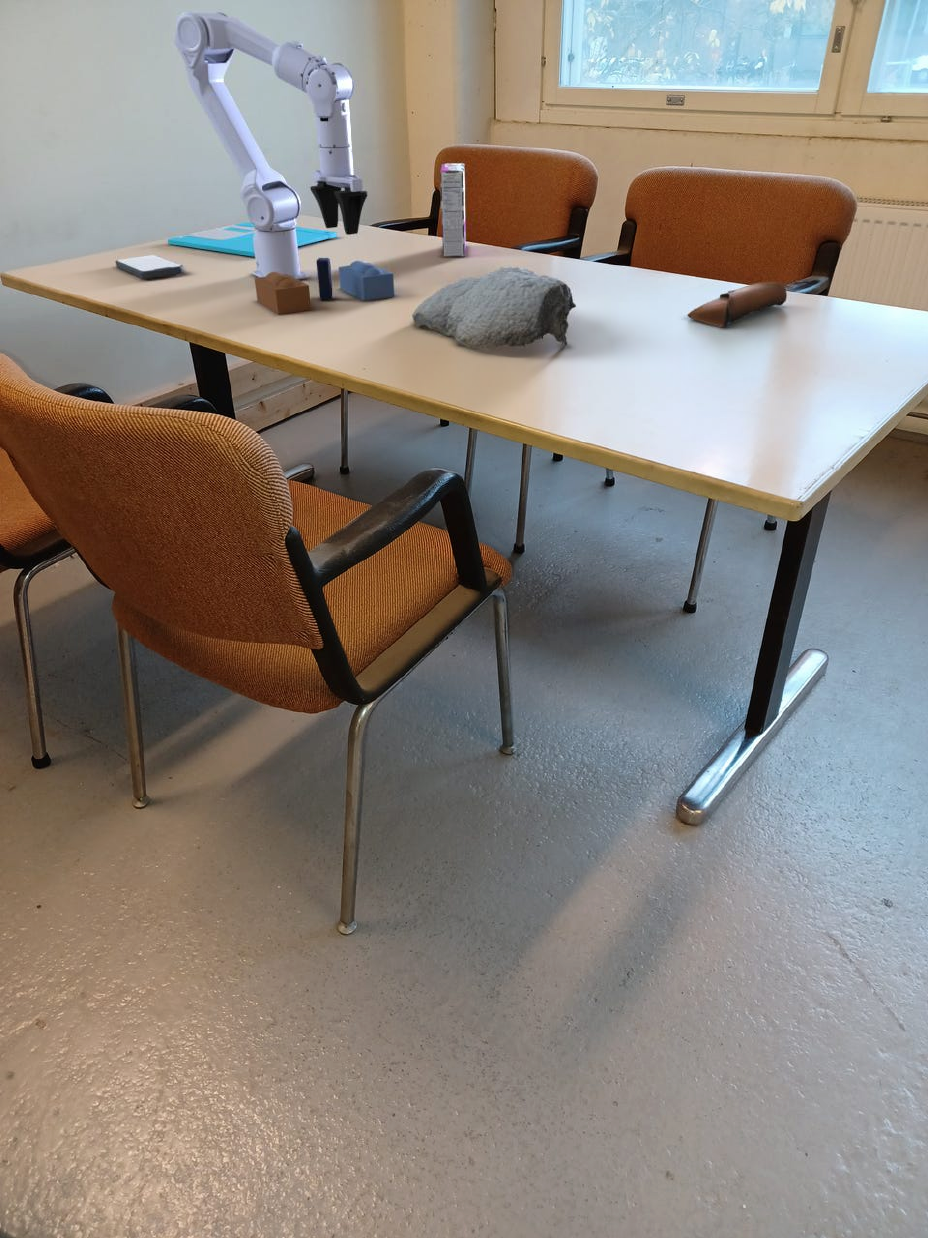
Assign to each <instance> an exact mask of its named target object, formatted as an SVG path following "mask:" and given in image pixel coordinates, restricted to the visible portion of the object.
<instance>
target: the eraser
mask: <svg viewBox="0 0 928 1238" xmlns="http://www.w3.org/2000/svg"><path fill="white" fill-rule="evenodd" d="M315 262H316V271H317V283H318V295H319V300H320V301H322V302H323V301H324V302H325V301H327V302H330V301H331V300H332V299H333V296H334V295H333V281H332V265H331V259H330V258H329V257H318V258H317V259H316V261H315Z"/></svg>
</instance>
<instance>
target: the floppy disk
mask: <svg viewBox="0 0 928 1238" xmlns="http://www.w3.org/2000/svg"><path fill="white" fill-rule="evenodd" d="M295 228H296V238H297V247H301V246H304V245H309V244H312V243H317V242H319V241H323V240H327V239H333V238H337V237H338V232H337V231H331V230H325V229H324V230H323V229H315V228H307V227H300V226H295ZM255 231H256V230H255V227H254V225H253V224H252V223H251V222H250V221H249V222H239V223H235V224H230V225H225V226H221V227H216V228H211V229H207V230H203V231H198V232H194V233H189V234H186V235H183V236H181V237H180V236H175V237H171V238H167V243H168V244H169V245H175V246H182V247H189V248H195V249H200V250H201V249H202V250H206V251H207V250H208V251H215V252H221V253H227V254H235V255H241V256H247V257H253V258H255V251H254V244H253V237H254V234H255Z"/></svg>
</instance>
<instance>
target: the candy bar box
mask: <svg viewBox="0 0 928 1238" xmlns="http://www.w3.org/2000/svg"><path fill="white" fill-rule="evenodd" d="M439 176H440V206H441V207H440V210H441V237H442V238H441V240H442V257H443V258H463V257H464V258H465V257H466V248H467V247H466V246H467V245H466V242H467V241H466V240H467V239H466V237H467V236H466V184H465V183H466V181H465V179H466V177H465V163H462V162H461V163H460V162H459V163H458V162H457V163H455V162H453V163H447V162H446V163H442V164H441V169H440V171H439Z"/></svg>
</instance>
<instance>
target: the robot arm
mask: <svg viewBox="0 0 928 1238" xmlns="http://www.w3.org/2000/svg"><path fill="white" fill-rule="evenodd" d="M174 30H175V31H174V41H173V43H174V45H175V46H176V48H177V50H178V52H179V54H180V55H181V57H182V59H183V63H184V67H185V71H186V74H187V79H188V83H189V86H190V87H191V89H192V92H193V93H194V95H195V96H196V97H195V98H196V99H197V100H198V102H199V104H200V105H201V107H202V109H203V111H204V113H205V115H206V117H207V119H208V120H209V122H210V124H211V126H212V128H213V129H214V131H215V133H216V135H217V136H218V138H219V140H220V142H221V143H222V145H223V147H224V149H225V151H226V153H227V155H228V156H229V158H230V160H231V162H232V163H233V166H234V167H235V170H237V172H238V174H239V176H240V178H241V180H242V186H241V188H240V193H239V196H240V197H241V199H242V201H243V204H244V207H245V214H246V217H247V219H248V220H249V222H251V223H252V224H253V225H254V227H255V230H256V231H255V234H254V237H253V244H254V251H255V257H254V258H255V259H254V260H255V265H256V270H254V271H252V275H254V276H256V278H260V277H266V276H267V275H268V274H269V273H271V272H278V273H281V274H288V275H290V276H292V277H294V278H296V279H298V280H304V279H309V275H308V274H306V273H304V272H302V271H301V267H300V266H301V265H300V259H299V258H300V257H299V248H298V247H299V246H297V238H296V228H295V227H296V226H297V219H298V218H299V217H300V215H301V211H302V203H301V199H300V196H299V194H298V193H297V192H296V190H295V189H294V188H293V187H292V186H290V185H289V183H288V182H287V181H286V179H285V177H284V176H283V174H281V173H279V172H278V171H276V170H274V169H273V168H271V167H270V165H269V163H268V161H267V160H266V158H265V156H264V154H263V152H262V150H261V149H260V146H259V145H258V143H257V141H256V140H255V137H254V135H253V134H252V132H251V130H250V128H249V127H248V124H247V122H246V120H245V119H244V117H243V115H242V113H241V111H240V110H239V108H238V106H237V103H236V102H235V100H234V99H233V97H232V94H231V93H230V91H229V89H228V88H227V86H226V84H225V81H224V80H225V74H226V73H227V70H228V68H229V66H230V64H231V62H232V58H233V56H234V53H235V52H236V50H238V51H240V52H242V53H244V54H246V55H249V56H250V57H252V58H255V59H256V60H259V61H261V62H263V63H265V64H267V65H270V66H271V67H273V71H274V73H275V76H276V77H277V78H278V79H279V80H281V81H282V82H283V81H284V82H285V83H286V84H288V85H290V86H292V87H294V88H296V89H298V90H300V91H302V92H303V93H305V94H307V96H308V98H309V99H310V101H311V102H312V105H313V113H314V114H315V122H316V134H317V145H318V159H319V167H320V168H319V169H318V170H313V179H314V180H313V181H314V183H316V185H312V186H310V187H309V188H310V192H311V193H312V194H313V196H314V198H315V200H316V202H317V205H318V207H319V210H320V213H321V217H322V220H323V223H324V226H325V228H326V229H333V228H338V227H339V208H340V213H341V216H342V217H341V218H342V224H343V229H344V232H345V235H348V236H350V235H357V234H358V233H359V228H360V221H361V215H362V211H363V208H364V205H365V203H366V200H367V198H368V191H367V190H364V181H363V178H362V177H359V176H358V175H356V174H355V173H354V164H353V163H354V162H353V161H354V160H353V147H352V133H351V118H350V104H349V102H350V101H349V100H350V99H351V98H352V96H353V93H354V91H355V90H354V89H355V83H354V78H353V75H352V74H351V72H350V70H349V69H348V68H347V67H346V66H345V65H343V64H342V63H341V62H333V63H330V64H329V63H328V62H327V58H326V57H325V56H324V55H321V54H318V55H316V54H313V53H312V52H310V51H308V50H306V49H304V48H303V43H301V42H300V41H298V40H292V41H286V42H284V43H282V44H279V43H277V42H275V41H273V40H272V39H270V38H268V37H267V36H265V35H264V34H262V33H260V32H258V31H257V30H256V29H254V28H252V27H250V26H249V25H247V24H245V23H244V22H242V21H241V20H240V19H239V18H237V17H234V16H230V15H228V14H227V13H225V12H223V11H222V12H221V11H220V12H219V11H218V12H192V11H184V12H182V13H181V14H180V15H179V16H178V18H177V20H176V24H175V29H174ZM343 189H344V190H343Z"/></svg>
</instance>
